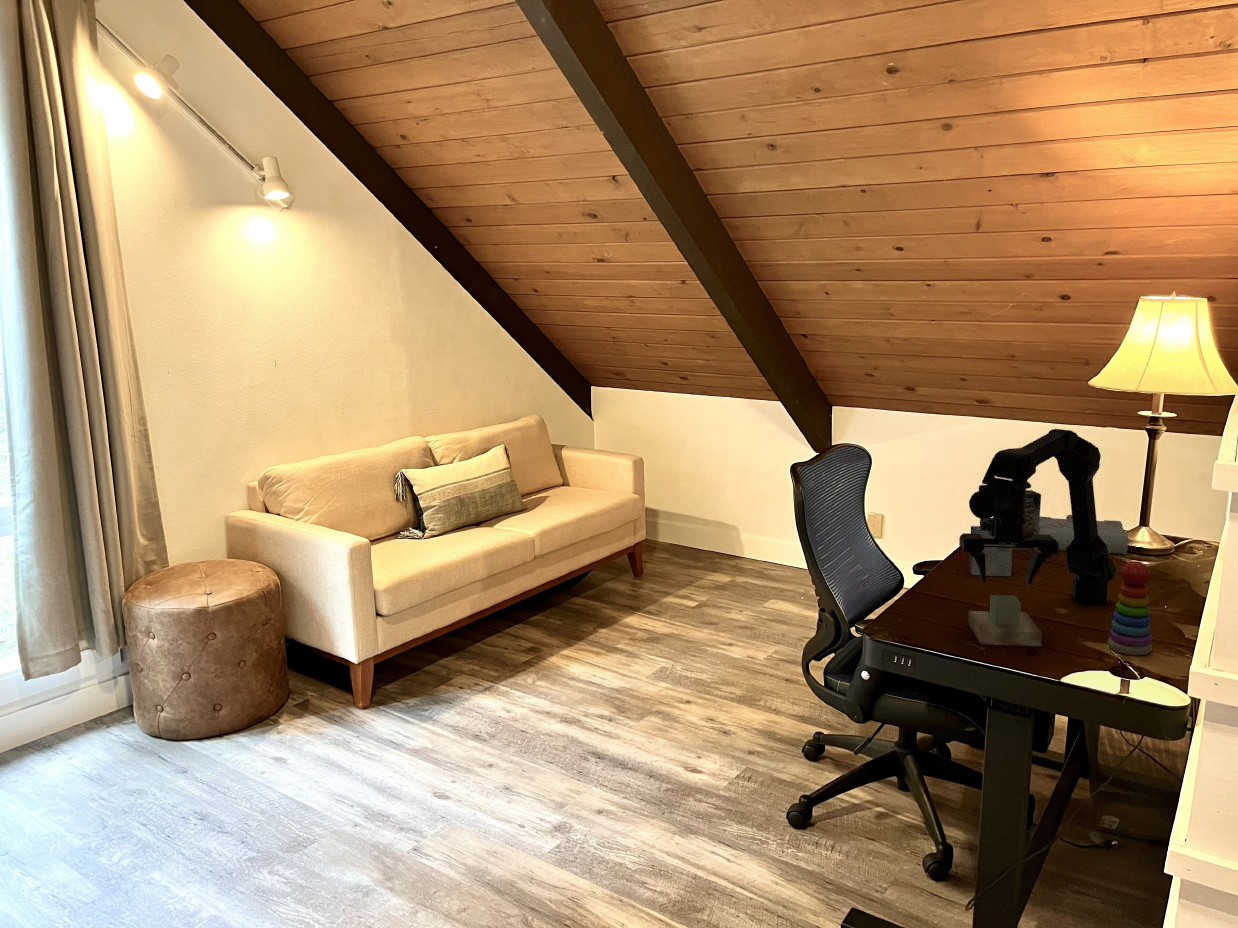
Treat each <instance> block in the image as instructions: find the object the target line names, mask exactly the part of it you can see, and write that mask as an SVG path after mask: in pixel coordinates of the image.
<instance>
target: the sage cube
mask: <svg viewBox="0 0 1238 928" xmlns="http://www.w3.org/2000/svg"><path fill="white" fill-rule="evenodd" d="M989 599H990V600H989V612H990V614H989V617H990V619H991V620H992V622H993V623H994V625H1004V626H1020V613H1021V608H1022V603H1021V601H1020V600H1019V599H1018V598H1017V596H1016V595H1012V594H1011V595H1009V594H1007V595H1004V594H990V595H989Z"/></svg>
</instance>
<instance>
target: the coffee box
mask: <svg viewBox="0 0 1238 928" xmlns="http://www.w3.org/2000/svg"><path fill="white" fill-rule="evenodd" d="M1041 502H1042V494H1041V493H1039V492H1037V491H1034V490H1032V489H1026V499H1025V517H1024V518H1025V524H1024V534H1023V538H1024V539H1032V536H1033V534H1035V535H1039V521H1040V516H1041V504H1042V503H1041ZM1013 544H1018V543H1013ZM1024 550H1025V551H1030V548H1012V551H1024Z"/></svg>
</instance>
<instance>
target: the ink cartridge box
mask: <svg viewBox="0 0 1238 928" xmlns="http://www.w3.org/2000/svg"><path fill="white" fill-rule="evenodd" d="M991 519H994V517H991ZM970 533H972V534H980V535H981V536H982V538H992V539H994V537H992V536H990V535H989V531H981V530H980V525H970ZM1000 544H1001V543H1000ZM1002 544H1003V543H1002ZM1004 544H1005V543H1004ZM1011 544H1013V543H1011ZM983 552H984V554H985V566H986V576H988V577H989V576H991V577H992V576H993V577H1011V576H1012V563H1013V561H1012V558H1013V550H1012V548H994V547H984V550H983ZM969 573H970V575H971V576H980V573H979V570H978V567H977V563H976V561H975V559H974V556H970V555H969Z"/></svg>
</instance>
